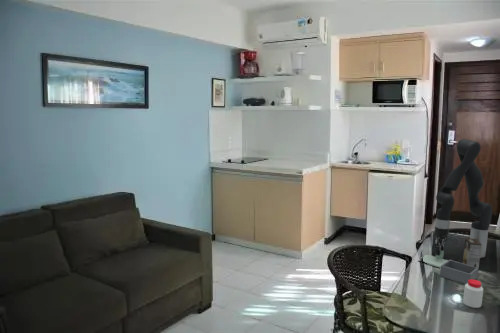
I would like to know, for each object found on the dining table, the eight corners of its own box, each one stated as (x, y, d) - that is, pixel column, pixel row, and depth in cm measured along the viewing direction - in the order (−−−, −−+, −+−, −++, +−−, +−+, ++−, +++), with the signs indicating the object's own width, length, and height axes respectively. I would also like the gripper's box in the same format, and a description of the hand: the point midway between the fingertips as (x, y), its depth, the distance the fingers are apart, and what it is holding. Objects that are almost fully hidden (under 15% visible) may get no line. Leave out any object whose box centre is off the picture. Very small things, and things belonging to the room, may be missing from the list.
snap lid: (426, 256, 255) (427, 246, 254) (452, 264, 244) (454, 253, 243) (417, 262, 246) (418, 251, 245) (444, 270, 235) (445, 259, 234)
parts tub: (448, 269, 236) (449, 259, 235) (477, 278, 225) (478, 267, 224) (439, 276, 228) (440, 265, 226) (469, 285, 217) (470, 274, 216)
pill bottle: (459, 299, 202) (462, 278, 200) (474, 299, 203) (477, 278, 201) (469, 308, 195) (471, 286, 193) (484, 307, 195) (487, 285, 193)
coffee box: (461, 263, 244) (464, 237, 241) (473, 265, 243) (476, 238, 240) (466, 270, 235) (469, 243, 232) (478, 271, 234) (482, 244, 231)
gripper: (440, 222, 252) (437, 249, 255) (430, 227, 242) (427, 255, 245) (453, 225, 247) (450, 252, 250) (443, 230, 237) (440, 259, 240)
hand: (439, 254), depth 248 cm, fingers open, 4 cm apart
